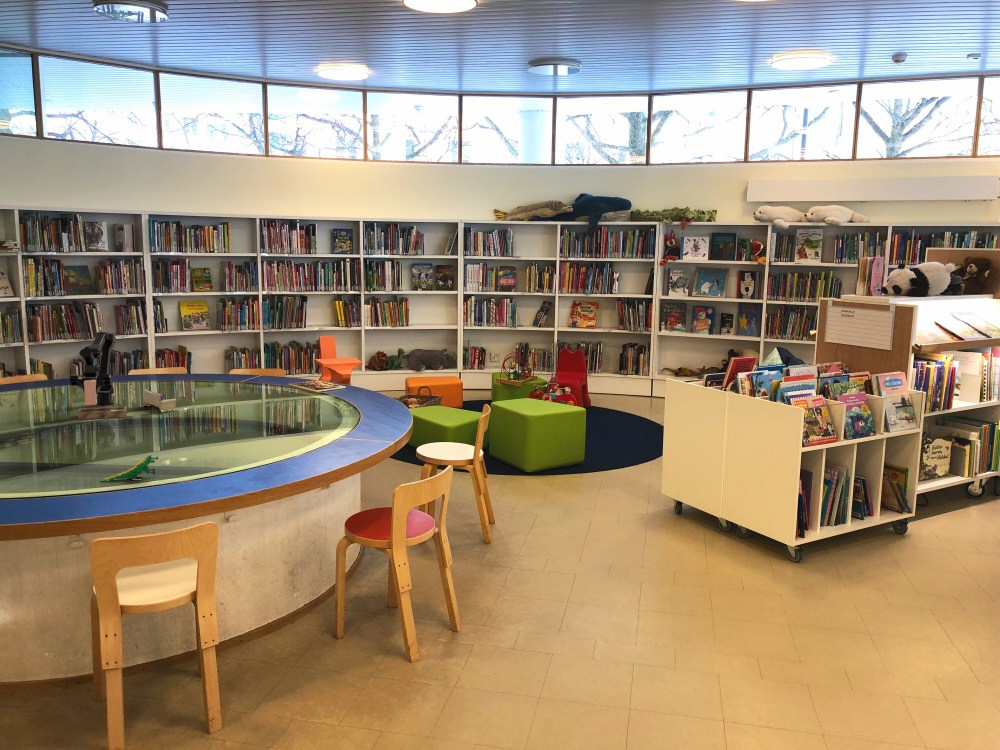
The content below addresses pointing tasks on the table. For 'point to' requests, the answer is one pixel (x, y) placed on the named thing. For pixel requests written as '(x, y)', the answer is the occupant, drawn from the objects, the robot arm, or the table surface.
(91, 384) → the coral block
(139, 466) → the crocodile
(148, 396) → the toy sofa
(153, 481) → the table surface
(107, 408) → the box
